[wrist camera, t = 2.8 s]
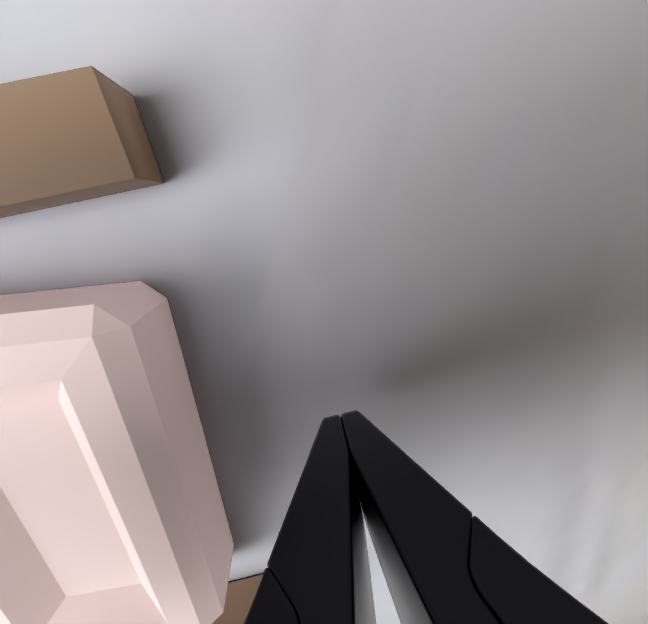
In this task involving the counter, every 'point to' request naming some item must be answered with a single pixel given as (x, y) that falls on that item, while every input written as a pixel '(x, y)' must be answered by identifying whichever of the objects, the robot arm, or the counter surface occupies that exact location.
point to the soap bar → (104, 465)
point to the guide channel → (81, 172)
